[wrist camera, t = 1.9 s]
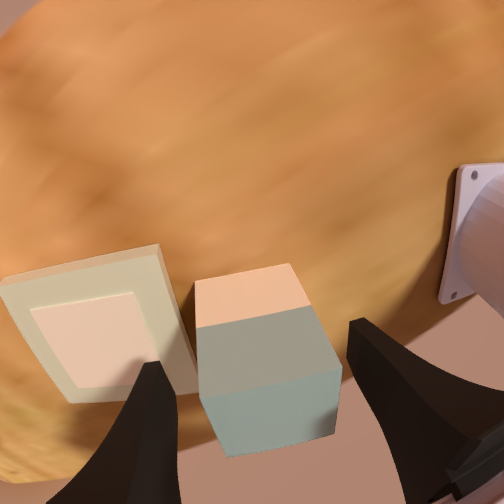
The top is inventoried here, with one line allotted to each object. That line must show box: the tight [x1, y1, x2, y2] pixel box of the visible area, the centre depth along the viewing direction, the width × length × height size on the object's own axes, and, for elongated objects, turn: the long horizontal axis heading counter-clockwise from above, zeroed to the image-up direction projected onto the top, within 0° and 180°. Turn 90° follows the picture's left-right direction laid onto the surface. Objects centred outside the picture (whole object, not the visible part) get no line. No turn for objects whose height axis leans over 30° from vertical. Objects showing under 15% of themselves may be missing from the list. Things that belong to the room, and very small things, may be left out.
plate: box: [0, 243, 199, 403], centre depth 13 cm, size 8×8×1 cm
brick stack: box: [195, 263, 343, 458], centre depth 12 cm, size 4×4×6 cm
